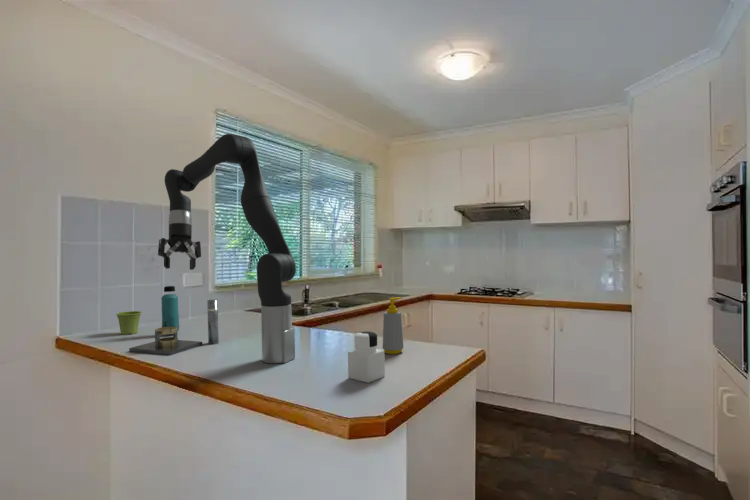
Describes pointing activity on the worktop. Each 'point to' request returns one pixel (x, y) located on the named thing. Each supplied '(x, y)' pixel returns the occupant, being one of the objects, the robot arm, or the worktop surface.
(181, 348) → the dark square plate
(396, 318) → the soap bottle
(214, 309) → the glossy dome-topped cylinder
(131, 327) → the plant pot
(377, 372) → the medicine bottle
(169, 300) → the beverage bottle
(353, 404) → the worktop surface
